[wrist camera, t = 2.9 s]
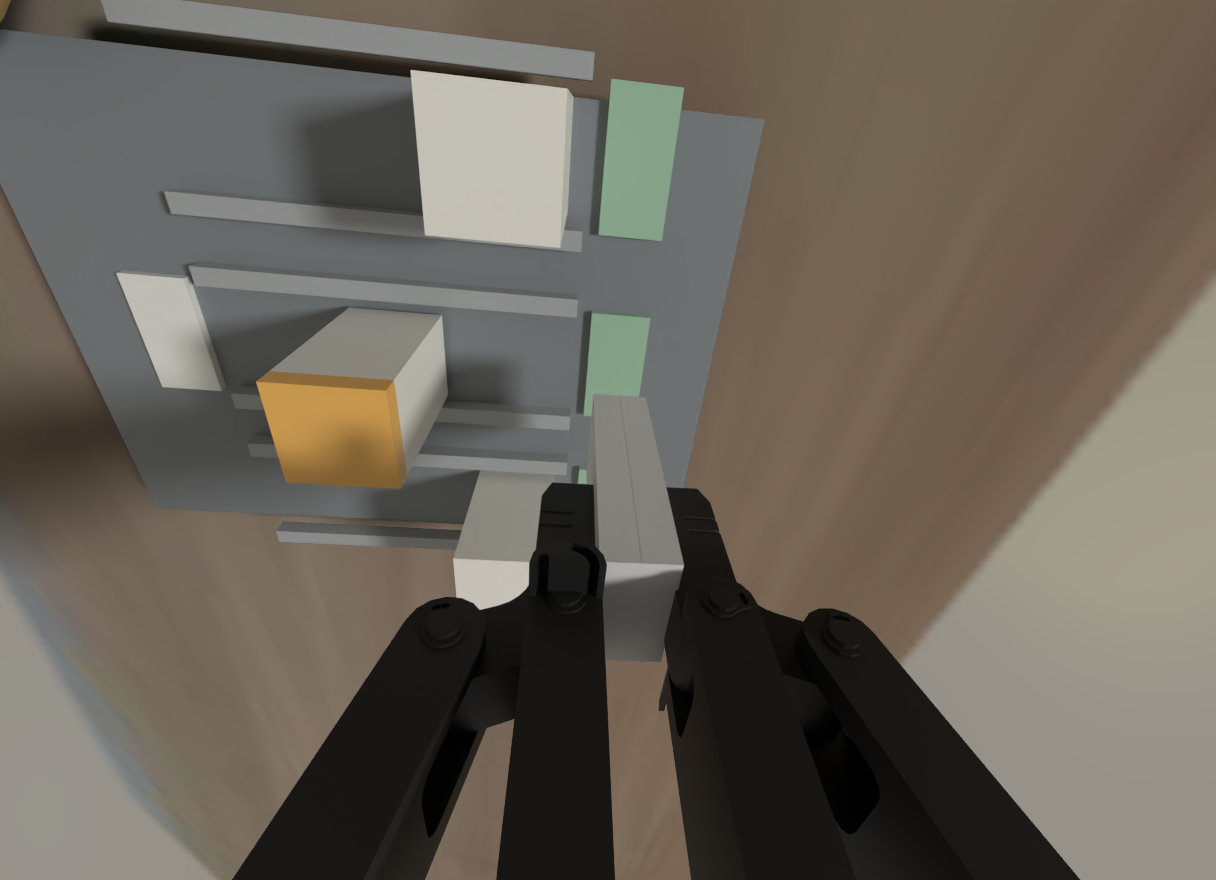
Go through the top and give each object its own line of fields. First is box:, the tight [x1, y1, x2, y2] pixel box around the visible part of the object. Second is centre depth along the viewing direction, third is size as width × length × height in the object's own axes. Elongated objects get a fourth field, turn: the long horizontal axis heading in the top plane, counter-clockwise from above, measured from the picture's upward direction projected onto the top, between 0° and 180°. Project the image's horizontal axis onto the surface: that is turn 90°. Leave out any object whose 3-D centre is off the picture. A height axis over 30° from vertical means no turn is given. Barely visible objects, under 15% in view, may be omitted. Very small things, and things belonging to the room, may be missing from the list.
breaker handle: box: [256, 307, 448, 489], centre depth 15 cm, size 3×3×6 cm
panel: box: [0, 0, 765, 610], centre depth 17 cm, size 18×22×7 cm
